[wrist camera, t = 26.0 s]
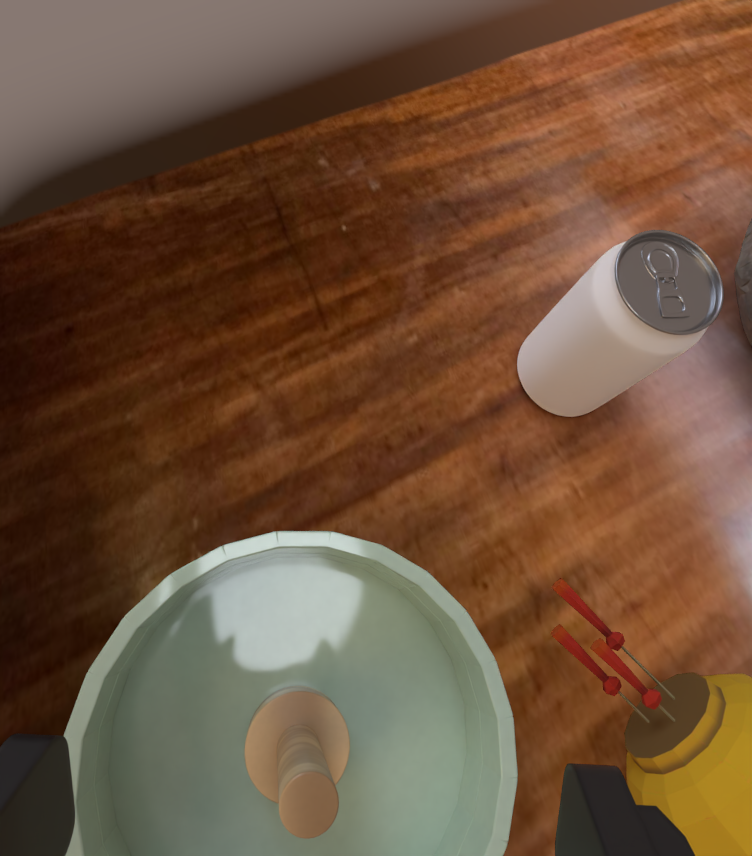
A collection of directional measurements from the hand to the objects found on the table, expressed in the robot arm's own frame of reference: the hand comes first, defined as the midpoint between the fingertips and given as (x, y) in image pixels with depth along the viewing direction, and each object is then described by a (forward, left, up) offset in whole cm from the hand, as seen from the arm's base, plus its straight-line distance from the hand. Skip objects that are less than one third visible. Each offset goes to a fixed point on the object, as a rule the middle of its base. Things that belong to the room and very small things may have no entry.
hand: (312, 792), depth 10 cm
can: (+18, +18, -25) cm, 35 cm away
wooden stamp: (+1, -3, -24) cm, 25 cm away
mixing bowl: (+1, -3, -25) cm, 25 cm away
